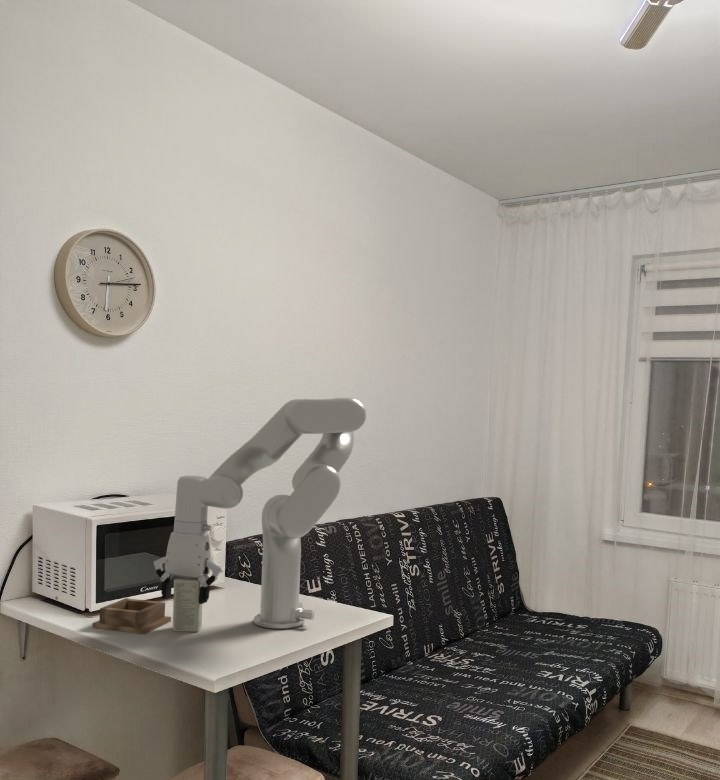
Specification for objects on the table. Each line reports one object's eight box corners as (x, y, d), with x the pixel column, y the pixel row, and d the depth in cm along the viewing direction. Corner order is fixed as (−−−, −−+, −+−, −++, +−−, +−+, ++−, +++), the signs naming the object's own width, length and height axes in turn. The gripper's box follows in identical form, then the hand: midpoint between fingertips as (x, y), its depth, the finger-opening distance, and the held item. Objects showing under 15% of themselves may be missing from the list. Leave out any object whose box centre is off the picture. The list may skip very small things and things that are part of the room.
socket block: (170, 621, 191) (171, 602, 191) (145, 633, 179) (145, 614, 179) (120, 615, 194) (121, 597, 195) (92, 627, 183) (93, 608, 183)
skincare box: (202, 627, 186) (204, 576, 187) (198, 632, 182) (200, 580, 182) (176, 626, 186) (178, 575, 187) (171, 631, 182) (173, 579, 182)
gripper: (229, 529, 186) (224, 601, 185) (165, 522, 191) (160, 592, 190) (216, 533, 179) (210, 608, 178) (149, 526, 183) (143, 599, 183)
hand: (184, 600), depth 184 cm, fingers open, 9 cm apart
